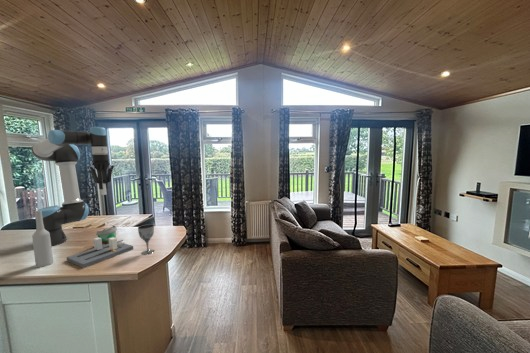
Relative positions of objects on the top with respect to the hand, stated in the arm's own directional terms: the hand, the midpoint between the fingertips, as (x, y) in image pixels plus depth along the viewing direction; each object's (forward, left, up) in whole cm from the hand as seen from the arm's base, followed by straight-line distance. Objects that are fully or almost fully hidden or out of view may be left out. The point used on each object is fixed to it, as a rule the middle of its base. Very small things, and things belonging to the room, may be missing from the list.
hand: (104, 194), depth 136 cm
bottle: (-8, -27, -33) cm, 43 cm away
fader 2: (+11, -3, -30) cm, 32 cm away
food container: (-6, +4, -33) cm, 33 cm away
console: (+7, -8, -32) cm, 34 cm away
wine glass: (+28, +6, -33) cm, 43 cm away
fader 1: (+3, -7, -30) cm, 31 cm away
